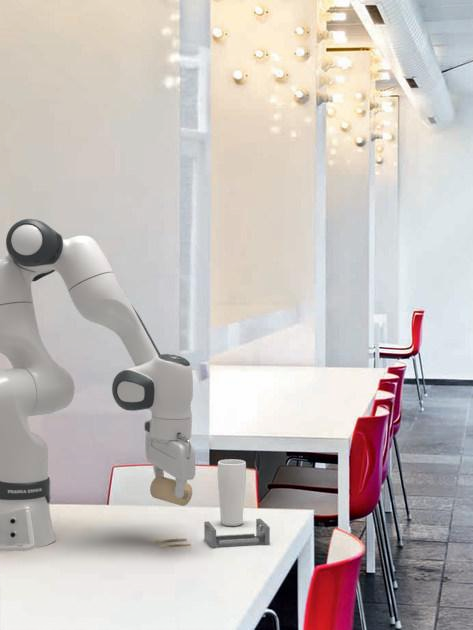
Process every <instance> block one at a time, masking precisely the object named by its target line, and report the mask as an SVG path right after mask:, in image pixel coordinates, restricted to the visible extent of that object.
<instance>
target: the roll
mask: <svg viewBox="0 0 473 630" xmlns="http://www.w3.org/2000/svg"><path fill="white" fill-rule="evenodd" d="M176 483H177V482H176V479H172V478H169V477H165V476H164V477H162V476H157V477H156V478H155V477H154V479H152V482H151V484H150V488H149V493H150V495H151V496H152V498H154V499H157V500H160V501H164V502H168V503H170V504H173V505H178V506H180V507H181V506H182V507H185V506H187V505H188V504H189V502H191V499H192V497H193V487H192V485H191V484H190V483H188V482H187V484H186V486H185V488H184V496H183V497H181V498H177V497H175V496H174V488H175V487H176Z"/></svg>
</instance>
